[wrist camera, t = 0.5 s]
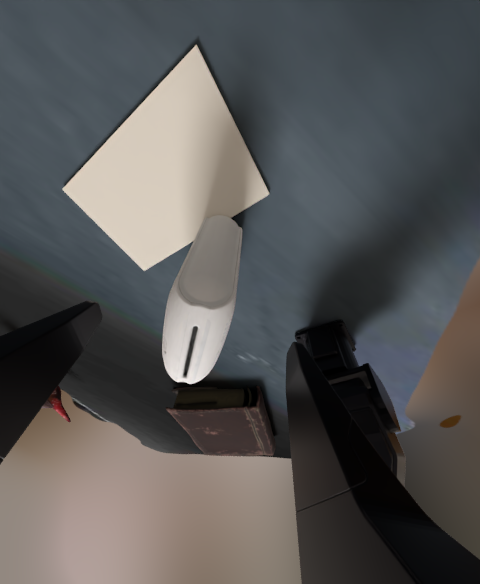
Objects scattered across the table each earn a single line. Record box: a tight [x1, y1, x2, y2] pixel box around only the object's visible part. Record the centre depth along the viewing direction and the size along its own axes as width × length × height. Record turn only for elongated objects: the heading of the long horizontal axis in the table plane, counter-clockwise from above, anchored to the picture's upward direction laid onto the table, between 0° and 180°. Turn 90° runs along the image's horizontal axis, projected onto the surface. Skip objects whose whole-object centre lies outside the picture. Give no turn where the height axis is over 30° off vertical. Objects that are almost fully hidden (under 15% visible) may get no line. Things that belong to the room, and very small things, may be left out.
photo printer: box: [162, 215, 242, 384], centre depth 18 cm, size 10×4×12 cm, turn 164°
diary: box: [166, 386, 276, 456], centre depth 45 cm, size 19×25×5 cm
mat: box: [62, 45, 269, 271], centre depth 18 cm, size 10×16×1 cm, turn 122°
